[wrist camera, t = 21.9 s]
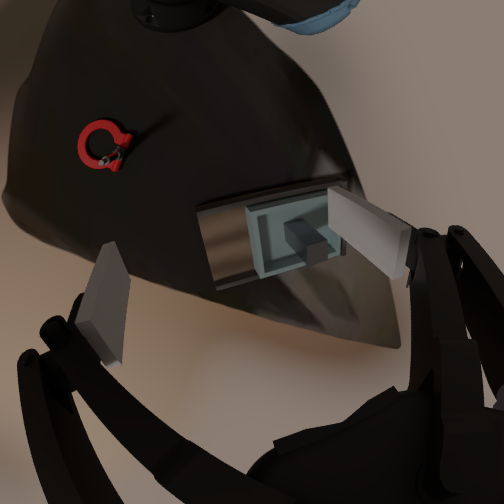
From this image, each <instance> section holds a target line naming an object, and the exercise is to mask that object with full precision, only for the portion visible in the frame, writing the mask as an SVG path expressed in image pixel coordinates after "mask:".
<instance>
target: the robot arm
mask: <svg viewBox="0 0 504 504" xmlns="http://www.w3.org/2000/svg"><path fill="white" fill-rule="evenodd" d="M359 1H360V0H131V1H130V4H131V9H132V12H133V15H134V17H135V18H136V20H137V21H138V22H139V23H140V24H141V25H143V26H144V27H146V28H148V29H150V30H153V31H157V32H164V33H174V32H181V31H186V30H189V29H192V28H194V27H197V26H199V25H200V24H202V23H204V22H205V21H206V20H208V19H209V18H210V17H211V16H212V15H213V14H214V12H215V11H216V9H217V8H218V6H219V4H220V2H221V3H224V4H227V5H230V6H233V7H236V8H238V9H241V10H244V11H246V12H249V13H252V14H254V15H256V16H259V17H261V18H263V19H266V20H268V21H270V22H271V23H272V24H274V25H275V26H278V27H283V28H285V29H288V30H290V31H292V32H295V33H296V34H300V35H314V34H318V33H321V32H324V31H326V30H328V29H330V28H331V27H333V26H335V25H336V24H338V23H339V22H341V21H342V20H343V19H344V18H346V17H347V16H348V15H349V14H350V10H351V9H353V8H355V7H356V6H357V4H358V3H359ZM328 227H329V228H331V229H332V230H333V231H334V232H336V233H337V234H338V235H339V236H341V237H342V238H343V239H344V240H346V241H347V242H348V243H349V244H351V245H352V246H353V247H354V248H355V249H357V250H358V251H359V252H360V253H361V254H363V255H364V256H365V257H366V258H367V259H369V260H370V261H371V262H372V263H373V264H374V265H376V266H377V267H378V268H379V269H380V270H381V271H383V272H384V273H385V274H386V275H387V276H388V277H389V278H391V279H392V280H395V279H397V278H399V277H402V276H403V274H404V270H405V265H406V266H407V267H409V269H410V272H409V276H408V281H407V285H406V288H408V285H410V302H411V366H410V380H409V386H408V389H407V390H406V391H401V392H398V391H397V390H396V388H395V387H394V386H392V387H391V388H389V389H387V390H386V391H384V392H382V393H380V394H379V395H377V396H375V397H373V398H372V399H370V400H368V401H367V402H366V403H365V404H363V405H362V406H361V407H360V408H359V409H358V410H357V411H355V412H354V413H353V414H352V415H351V416H349V417H348V418H347V419H346V420H344V421H343V422H341V423H336V424H331V425H326V426H321V427H316V428H309V429H305V430H302V431H300V432H297V433H294V434H291V435H289V436H286V437H283V438H280V439H277V440H274V441H273V444H274V448H273V449H271V450H270V451H268V452H267V453H265V454H264V455H263V456H261V457H260V458H259V459H258V460H257V461H256V462H255V463H254V464H253V465H252V467H251V468H250V469H249V471H248V472H247V474H246V475H245V474H243V473H241V472H240V471H238V470H236V469H235V468H233V467H231V466H229V465H228V464H226V463H224V462H223V461H221V460H219V459H218V458H216V457H214V456H213V455H211V454H210V453H208V452H207V451H205V450H204V449H202V448H201V447H199V446H198V445H196V444H195V443H193V442H191V441H189V440H187V439H185V438H184V437H182V436H181V435H180V434H178V433H177V432H176V431H174V430H173V429H171V428H170V427H169V426H168V425H167V424H165V423H164V422H163V421H161V420H160V419H159V418H158V417H157V416H155V415H154V414H153V413H152V412H150V411H149V410H148V409H147V408H146V407H145V406H144V405H142V404H141V403H140V402H139V401H138V400H137V399H136V398H135V397H133V396H132V395H131V394H130V393H129V392H128V391H127V390H126V389H125V388H124V387H123V386H122V385H121V384H120V383H118V381H117V380H116V379H115V378H114V377H113V376H112V375H111V374H110V373H109V372H108V371H107V370H106V369H105V368H104V367H103V366H102V365H101V364H100V361H102V362H103V363H104V365H105V366H106V367H107V368H110V367H115V366H121V365H122V353H123V341H124V330H125V320H126V312H127V303H128V296H129V289H130V282H131V279H130V277H129V275H128V273H127V270H126V268H125V266H124V263H123V261H122V258H121V256H120V254H119V251H118V249H117V246H116V244H115V241H113V242H110V243H107V244H104V245H103V246H102V248H101V251H100V253H99V256H98V258H97V261H96V263H95V266H94V268H93V271H92V273H91V276H90V279H89V282H88V284H87V287H86V290H85V292H84V293H80V294H79V295H78V297H77V298H76V299H75V301H74V303H73V306H72V309H71V312H70V315H69V318H68V321H67V322H66V321H65V319H64V318H63V317H62V316H60V315H58V316H57V315H56V316H53V317H51V318H50V319H48V320H47V321H46V322H45V323H44V324H43V325H42V327H41V329H40V332H39V334H40V337H41V338H42V340H43V341H44V342H45V344H47V346H48V347H49V349H50V351H48V352H46V353H44V354H42V355H39V353H38V352H37V351H36V350H35V349H28V350H26V351H25V352H24V353H22V354H21V356H20V357H19V360H18V362H17V372H18V373H17V374H18V385H19V394H20V402H21V408H22V414H23V420H24V426H25V430H26V435H27V439H28V444H29V447H30V451H31V455H32V459H33V462H34V466H35V469H36V472H37V475H38V478H39V481H40V483H41V486H42V489H43V492H44V494H45V496H46V499H47V502H48V504H124V503H123V501H122V499H121V498H120V496H119V495H118V493H117V491H116V490H115V488H114V486H113V485H112V483H111V481H110V480H109V478H108V476H107V474H106V472H105V470H104V469H103V467H102V465H101V463H100V461H99V459H98V457H97V455H96V453H95V451H94V448H93V446H92V444H91V442H90V440H89V438H88V435H87V433H86V430H85V428H84V426H83V423H82V421H81V418H80V416H79V413H78V410H77V407H76V405H75V402H74V399H73V396H72V393H71V392H74V391H76V390H77V391H78V393H79V394H80V395H81V397H82V398H83V399H84V401H85V402H86V403H87V405H88V406H89V407H90V408H91V410H92V411H93V412H94V413H95V415H96V416H97V417H98V418H99V419H100V421H101V422H102V423H103V424H104V425H105V426H106V428H107V429H108V430H109V431H110V432H111V433H112V434H113V435H114V437H115V438H116V439H117V440H118V441H119V442H120V443H121V444H122V445H123V446H124V447H125V448H126V449H127V450H128V451H129V452H130V453H131V454H132V455H133V456H134V457H135V458H136V459H137V460H138V461H139V462H140V463H141V464H142V465H143V466H144V467H146V468H147V469H148V470H149V471H150V472H151V473H152V474H153V475H154V478H155V479H156V481H157V482H158V483H159V484H160V485H162V486H163V487H164V488H165V489H166V490H168V491H169V492H170V493H171V494H173V495H174V496H175V497H176V498H178V499H179V500H181V501H182V502H183V503H185V504H504V275H503V273H502V272H501V271H500V269H499V268H498V267H497V265H496V264H495V263H494V261H493V260H492V259H491V258H490V256H489V255H488V254H487V253H486V251H485V250H484V249H483V248H482V247H481V246H480V244H479V243H478V242H477V241H476V240H475V238H474V237H473V236H472V235H471V234H470V233H469V232H468V231H467V230H466V229H465V228H463V227H462V226H459V225H457V226H455V225H452V226H450V227H449V228H448V233H447V235H440V234H439V233H438V232H437V231H436V230H433V229H430V228H420V229H416V228H415V227H413V226H412V225H410V224H408V223H407V222H405V221H403V220H401V219H400V218H398V217H396V216H395V215H393V214H391V213H388V212H385V211H384V210H382V209H380V208H378V207H377V206H375V205H373V204H371V203H369V202H368V201H366V200H364V199H362V198H360V197H358V196H357V195H355V194H353V193H351V192H349V191H347V190H345V189H343V188H341V187H339V186H333V187H328ZM462 261H463V267H462V268H461V265H462ZM466 327H467V329H468V331H469V333H470V336H471V338H472V339H468V337H467V331H466ZM480 361H481V362H480ZM481 364H482V367H483V370H484V373H485V376H486V378H487V381H488V384H489V386H490V388H491V390H492V392H493V394H494V396H495V398H496V400H497V402H496V403H495V404H494V405H493V408H488V407H484V393H483V392H484V391H483V380H482V370H481Z"/></svg>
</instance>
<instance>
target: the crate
mask: <svg viewBox="0 0 504 504" xmlns="http://www.w3.org/2000/svg"><path fill="white" fill-rule="evenodd" d="M245 212H246V218H247V225H248V231H249V237H250V243H251V249H252V256H253V262H254V268H255V270H256V272H257V273H258V275H259V277H260V279H261V278H265V277H268V276H272V275H275V274H278V273H282V272H285V271H288V270H292V269H295V268H298V267H302V266H305V265H306V264H305V263H304V262H303V261H302V259H301V258H300V257H299V256H298V255H297V254H296V253H295V251H294V250H293V249H292V248H291V247H290V246H289V245H288V243H287V242H286V241H285V233H284V225H283V223H285V222H289V221H293V220H296V219H300V218H303V219H304V220H305V221H306V222H307V223H309V224H310V225H311V226H312V227H313V228H314V229H316V230H317V231H318V232H319V233H320V234H321V235H323V236H324V237H325V238H326V239H327V240H328V258H331V257H334V256H337V255H340V245H341V236H339V235H338V234H337V233H336V232H334V231H333V230H332V229H331V228H329V227H328V188H325V189H320V190H315V191H311V192H306V193H301V194H296V195H292V196H287V197H282V198H278V199H273V200H269V201H265V202H260V203H256V204H252V205H247V206H245Z"/></svg>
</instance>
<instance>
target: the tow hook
mask: <svg viewBox="0 0 504 504" xmlns="http://www.w3.org/2000/svg"><path fill="white" fill-rule="evenodd" d="M100 128H103V129H107V130H108V131H110V132H111V134H112V135H113V137H114V142H115V143H117V144H119V146H117V148H116V150H115V151H112V153H111V154H109V155H107V156H104V157H103V158H102V160H97V159H94V158H92V157H91V156H90V155H89V154H88V151H87V148H86V143H87V139H88V137H89V135H90V134H91V133H92V132H93V131H95V130H96V129H100ZM132 137H133V135H131V134H129V133H126V134H125V133H122V132H121V129H120V128H119V127H118V126H117V125H116V124H115V123H113V122H112V121H109V120H97V121H94V122H92V123H90V124H88V125H87V126H86V127H85V128H84V129H83V131H82V133H81V134H80V137H79V140H78V154H79V156H80V158H81V160H82V161H83V162H84V164H86V165H87V166H89V167H91V168H94V169H102V168H106V167H108V168H111V170H112V171H115V172H118V170H119V168H120V165H121V163H122V160H123V159H124V157H125V154H126V152H127V150H128V146H129V144H130V141H131V139H132Z"/></svg>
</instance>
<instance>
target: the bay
mask: <svg viewBox="0 0 504 504" xmlns="http://www.w3.org/2000/svg"><path fill="white" fill-rule="evenodd" d="M333 186H339V187H341V188H343V189H345V190H347V181H346V180H343V179H341V178H339V177H337V176H336V177H330V178H324V179H319V180H313V181H308V182H303V183H298V184H293V185H288V186H283V187H278V188H273V189H269V190H264V191H259V192H255V193H250V194H246V195H242V196H237V197H233V198H229V199H225V200H221V201H216V202H212V203H208V204H204V205H201V206H197V207H195V209H196V213H197V217H198V221H199V225H200V229H201V233H202V237H203V241H204V245H205V249H206V253H207V257H208V261H209V265H210V268H211V272H212V276H213V280H214V283H215V286H216V290H217V291H218V290H221V289H225V288H229V287H232V286H236V285H239V284H243V283H246V282H250V281H253V280H256V279H260V277H259V275H258V273H257V272H256V270H255V268H254V262H253V256H252V249H251V243H250V237H249V231H248V225H247V218H246V212H245V206H247V205H252V204H256V203H260V202H265V201H269V200H273V199H278V198H282V197H287V196H292V195H296V194H301V193H306V192H311V191H315V190H320V189H325V188H328V187H333ZM346 242H347V241H346V240H344V239H343V238H342V237H341V245H340V255H341V256H345V255H346Z"/></svg>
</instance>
